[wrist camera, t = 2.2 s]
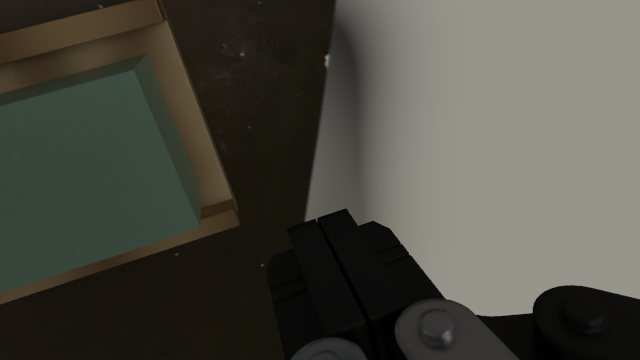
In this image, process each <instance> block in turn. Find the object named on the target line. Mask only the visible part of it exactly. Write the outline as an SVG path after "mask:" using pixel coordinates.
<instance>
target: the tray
mask: <svg viewBox="0 0 640 360" xmlns="http://www.w3.org/2000/svg"><path fill="white" fill-rule="evenodd" d="M146 54H147V55H148V57H149V59H150V62H151V64H152V66H153V69H154V71H155V74H156V76H157V79H158V81H159V84H160V86H161V89H162V91H163V94H164V96H165V99H166V101H167V104H168V106H169V108H170V111H171V113H172V116H173V118H174V121H175V123H176V126H177V128H178V131H179V133H180V136H181V138H182V141H183V143H184V146H185V148H186V150H187V153H188V155H189V158H190V160H191V163H192V165H193V168H194V170H195V173H196V175H197V178H198V180H199V183H200V185H201V228H199V229H196V230H193V231H190V232H187V233H184V234H181V235H178V236H175V237H172V238H169V239H166V240H163V241H160V242H157V243H153V244H150V245H147V246H144V247H141V248H138V249H135V250H132V251H129V252H126V253H123V254H120V255H117V256H114V257H111V258H108V259H105V260H102V261H98V262H95V263H92V264H89V265H86V266H83V267H80V268H77V269H74V270H71V271H68V272H65V273H62V274H59V275H56V276H53V277H50V278H46V279H43V280H40V281H37V282H34V283H31V284H28V285H25V286H22V287H19V288H16V289H13V290H10V291H7V292H4V293H1V294H0V304H3V303H6V302H9V301H12V300H15V299H18V298H21V297H24V296H27V295H30V294H33V293H36V292H39V291H42V290H45V289H48V288H51V287H54V286H57V285H60V284H63V283H66V282H69V281H72V280H75V279H78V278H81V277H84V276H87V275H90V274H93V273H96V272H100V271H103V270H106V269H109V268H112V267H115V266H118V265H121V264H124V263H127V262H130V261H133V260H136V259H139V258H142V257H145V256H148V255H151V254H154V253H157V252H160V251H163V250H166V249H169V248H172V247H175V246H178V245H181V244H184V243H187V242H190V241H193V240H196V239H199V238H202V237H205V236H209V235H212V234H215V233H218V232H221V231H224V230H227V229H230V228H233V227H236V226H239V225H240V222H239V215H238V208H237V203H236V200H235V197H234V194H233V192H232V189H231V186H230V184H229V181H228V178H227V175H226V173H225V170H224V167H223V165H222V162H221V159H220V156H219V154H218V151H217V148H216V146H215V143H214V140H213V137H212V135H211V132H210V129H209V127H208V124H207V121H206V118H205V116H204V113H203V110H202V108H201V105H200V102H199V99H198V97H197V94H196V91H195V89H194V86H193V83H192V80H191V78H190V75H189V72H188V70H187V67H186V64H185V61H184V59H183V56H182V53H181V51H180V48H179V45H178V42H177V40H176V37H175V34H174V32H173V29H172V26H171V23H170V21H169V18H168V15H167V13H166V10H165V7H164V4H163V2H162V0H134V1H130V2H126V3H122V4H118V5H114V6H110V7H106V8H102V9H98V10H94V11H90V12H86V13H82V14H78V15H74V16H70V17H66V18H62V19H58V20H54V21H50V22H46V23H42V24H39V25H35V26H31V27H27V28H23V29H19V30H15V31H11V32H7V33H3V34H0V94H1V93H5V92H8V91H12V90H16V89H19V88H23V87H27V86H31V85H34V84H38V83H42V82H45V81H49V80H53V79H57V78H60V77H64V76H68V75H71V74H75V73H79V72H83V71H86V70H90V69H94V68H97V67H101V66H105V65H109V64H112V63H116V62H120V61H123V60H127V59H131V58H135V57H138V56H142V55H146Z"/></svg>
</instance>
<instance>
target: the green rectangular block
mask: <svg viewBox="0 0 640 360" xmlns="http://www.w3.org/2000/svg"><path fill="white" fill-rule="evenodd" d="M199 228H201V185H200V183H199V180H198V178H197V175H196V173H195V170H194V168H193V165H192V163H191V160H190V158H189V155H188V153H187V150H186V148H185V146H184V143H183V141H182V138H181V136H180V133H179V131H178V128H177V126H176V123H175V121H174V118H173V116H172V113H171V111H170V108H169V106H168V104H167V101H166V99H165V96H164V94H163V91H162V89H161V86H160V84H159V81H158V79H157V76H156V74H155V71H154V69H153V66H152V64H151V62H150V59H149V57H148V55H147V54H146V55H142V56H138V57H135V58H131V59H127V60H123V61H120V62H116V63H112V64H109V65H105V66H101V67H97V68H94V69H90V70H86V71H83V72H79V73H75V74H71V75H68V76H64V77H60V78H57V79H53V80H49V81H45V82H42V83H38V84H34V85H31V86H27V87H23V88H19V89H16V90H12V91H8V92H5V93H1V94H0V294H1V293H4V292H7V291H10V290H13V289H16V288H19V287H22V286H25V285H28V284H31V283H34V282H37V281H40V280H43V279H46V278H50V277H53V276H56V275H59V274H62V273H65V272H68V271H71V270H74V269H77V268H80V267H83V266H86V265H89V264H92V263H95V262H98V261H102V260H105V259H108V258H111V257H114V256H117V255H120V254H123V253H126V252H129V251H132V250H135V249H138V248H141V247H144V246H147V245H150V244H153V243H157V242H160V241H163V240H166V239H169V238H172V237H175V236H178V235H181V234H184V233H187V232H190V231H193V230H196V229H199Z"/></svg>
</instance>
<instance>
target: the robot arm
mask: <svg viewBox="0 0 640 360" xmlns="http://www.w3.org/2000/svg"><path fill="white" fill-rule="evenodd" d="M317 220H318V223H317V221H316V219H313V220H310V221H307V222H304V223H301V224H298V225H295V226H292V227H289V228H287V232H288V235H289V238H290V241H291V245H292V248H293V249H290V250H287V251H284V252H281V253H278V254H276V255H273V256H271V259H270V262H269V265H268V268H267V271H266V274H267V279H268V283H269V288H270V292H271V297H272V301H273V304H274V305H273V306H274V310H275V314H276V319H277V323H278V328H279V332H280V337H281V341H282V346H283V350H284V355H285V360H640V299H636V298H632V297H627V296H623V295H619V294H615V293H611V292H607V291H602V290H598V289H594V288H589V287H584V286H574V285H573V286H572V285H570V286H559V287H555V288H552V289H549V290H547V291H545V292H543V293H542V294H541V295H540V296H539V297H538V298H537V299H536V301H535V302H534V306H533V313H530V314H520V315H508V316H492V317H489V316H480V315H475V314H474V313H473V312H472V311H471V310H470V309H468V308H467V307H465V306H464V305H462V304H459V303H457V302H455V301H451V300H447V299H445V298H444V297H443V295H442V294H441V293H440V292H439V290H438V289H437V288H436V286H435V285H434V284H433V283H432V282H431V280H430V279H429V278H428V276H427V275H426V274H425V273H424V271H423V270H422V269H421V268H420V266H419V265H418V264H417V262H416V261H415V260H414V259H413V257H412V256H411V255H409V253H408V251H407V250H406V249H405V247H404V246H403V245H402V244H401V243H400V241H399V240H398V238H397V237H396V236H395V235H394V234H393V232H392V231H391V230H390V229H389V228H387V227H385V226H383V225H381V224H379V223H377V222H375V221H371V222H368V223H366V224H363V225H360V226H358V225H357V224H356V222H355V221H354V219H353V218H352V216H351V215H350V213H349V212H348V210H347V209H343V210H340V211H337V212H334V213H331V214H328V215H325V216H322V217H319V218H317Z"/></svg>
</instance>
